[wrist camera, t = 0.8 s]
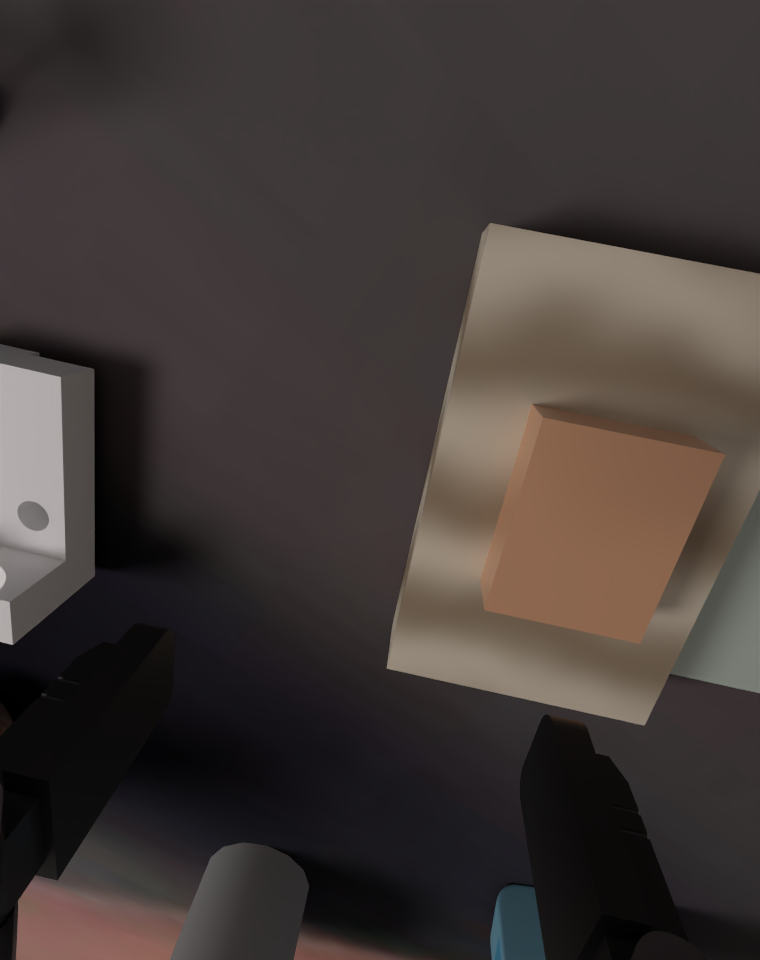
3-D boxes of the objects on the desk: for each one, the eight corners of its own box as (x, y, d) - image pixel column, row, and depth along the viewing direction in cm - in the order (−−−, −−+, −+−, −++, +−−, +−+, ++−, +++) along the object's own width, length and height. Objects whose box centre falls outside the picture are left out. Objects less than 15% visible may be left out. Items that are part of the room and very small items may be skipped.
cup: (296, 923, 43) (257, 1099, 34) (202, 896, 43) (137, 1063, 34) (317, 860, 40) (281, 1034, 31) (216, 831, 40) (149, 995, 31)
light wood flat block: (482, 233, 24) (490, 223, 20) (789, 291, 23) (856, 291, 19) (392, 623, 32) (386, 668, 28) (619, 672, 31) (644, 725, 27)
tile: (532, 403, 22) (543, 417, 20) (694, 436, 22) (725, 454, 20) (480, 580, 25) (484, 610, 23) (621, 610, 25) (640, 643, 23)
